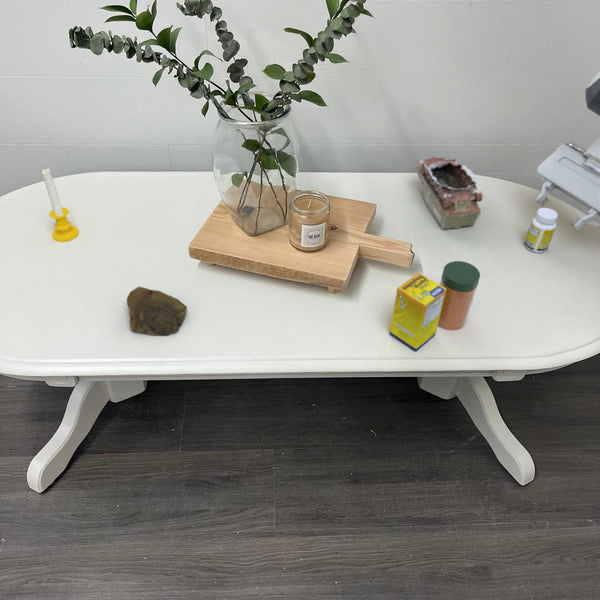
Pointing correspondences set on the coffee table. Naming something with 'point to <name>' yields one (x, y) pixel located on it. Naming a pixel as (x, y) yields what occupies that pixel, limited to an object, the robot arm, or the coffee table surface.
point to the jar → (455, 308)
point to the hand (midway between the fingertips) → (555, 214)
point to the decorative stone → (154, 312)
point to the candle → (58, 212)
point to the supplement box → (417, 311)
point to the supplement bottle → (541, 230)
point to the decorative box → (449, 191)
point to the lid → (460, 276)
